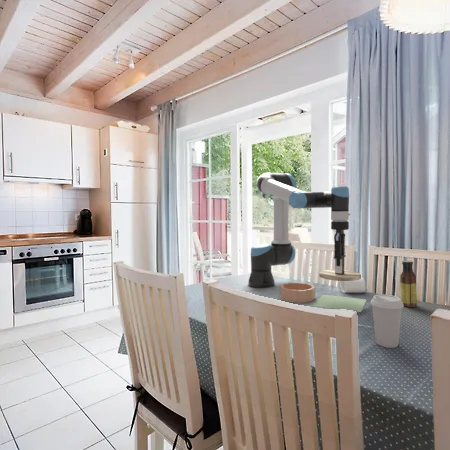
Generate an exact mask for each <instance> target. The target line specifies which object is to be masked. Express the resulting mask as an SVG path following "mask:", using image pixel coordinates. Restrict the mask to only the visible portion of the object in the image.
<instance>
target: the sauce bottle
mask: <svg viewBox="0 0 450 450" xmlns="http://www.w3.org/2000/svg"><path fill="white" fill-rule="evenodd" d="M401 264H402V272H401V273H400V276H399V278H400V279H399V281H400V282H399V284H400V285H399V289H400V299H401V301H402V302H403V305H404V307H405V306H407V307H406V308H408V307H409V308H417V306H418V290H417V287H418V285H417V276H416V274H415V273H414V271H413V269H414V268H413V265H414V262H413V260H402V263H401Z"/></svg>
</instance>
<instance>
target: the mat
mask: <svg viewBox="0 0 450 450" xmlns="http://www.w3.org/2000/svg"><path fill="white" fill-rule="evenodd" d="M366 302H367V299H365V298H364V299H363V298H356V297H349V296H348V297H346V296H338V295H332V294H331V295H330V294H322V295H321V296H320V297H319V298H318V299H317V301H316V302H314V304H312V306H313V307H317V308H318V307H319V308H327V309H334V310H340V309H347V310H346V311H348V310H354V311H353V312H355V311H356V312H355V313H357V312H358V313H362V311H363V309H364V307H365V305H366Z"/></svg>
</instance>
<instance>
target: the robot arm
mask: <svg viewBox="0 0 450 450" xmlns="http://www.w3.org/2000/svg"><path fill="white" fill-rule="evenodd" d="M256 187H257V190H258V191H260V193H263V194H265V195H270V196H271V198H272V199H273V240H272V241H271V242H270V243H260V244H259V243H258V244H255V245H252V246H251V248H250V274H249V278H248V281H247V282H248V286H249V287H251V288H252V287H253V288H256V289H257V288H259V289H260V288H261V289H264V288H271V287H274V286H275V284H276V283H275V278H274V276H273V272H272V266H274V267H275V266H282V265H284V266H285V265H288V264H291V263H292V262H294V260H295V256H296V249H295V247H294V245H292V242H291V240H289V205H290V207H291V208H293V209H300V210H301V209H315V208H316V209H318V208H319V209H323V208H329V209H331V210H330V220H332V221H331V222H330V229H331V230H334V231H335V233H334V236H333V240H334V242H333V243H334V245H333V246H334V256H333V259H334V264H335V265H334V270H335V273H342V259H341V258H342V257H341V256H344V258H346V254H345V252H346V251H345V250H346V247H345V246H346V233H345V231H347V230H349V229H350V223H349V220H350V219H349V218H350V217H349V216H351V213H350V212H349V211H350V189H349V187H348V186H346V185H345V186H341V185H339V186H337V185H336V186H332V187H331V190H330V191H304V190H301V189H298V188H296V180H295V178H294V176H293V175H292V174H291V173H286V172H264V173H262V174H261V175H260V176H259V177H258V178H257V180H256Z"/></svg>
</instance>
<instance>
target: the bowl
mask: <svg viewBox="0 0 450 450" xmlns="http://www.w3.org/2000/svg"><path fill="white" fill-rule="evenodd" d="M279 287H280V289H279V291H280V293H279V294H280V296H279V298H280V299H281V301H285V302H290V303H292V302H293V303H309V302H312V301H314V300H315V299H316V286H314V285H313V284H311V283H308V282H307V283H306V282H298V281H296V282H287V283H286V282H285V283H282V284H281V285H279Z"/></svg>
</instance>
